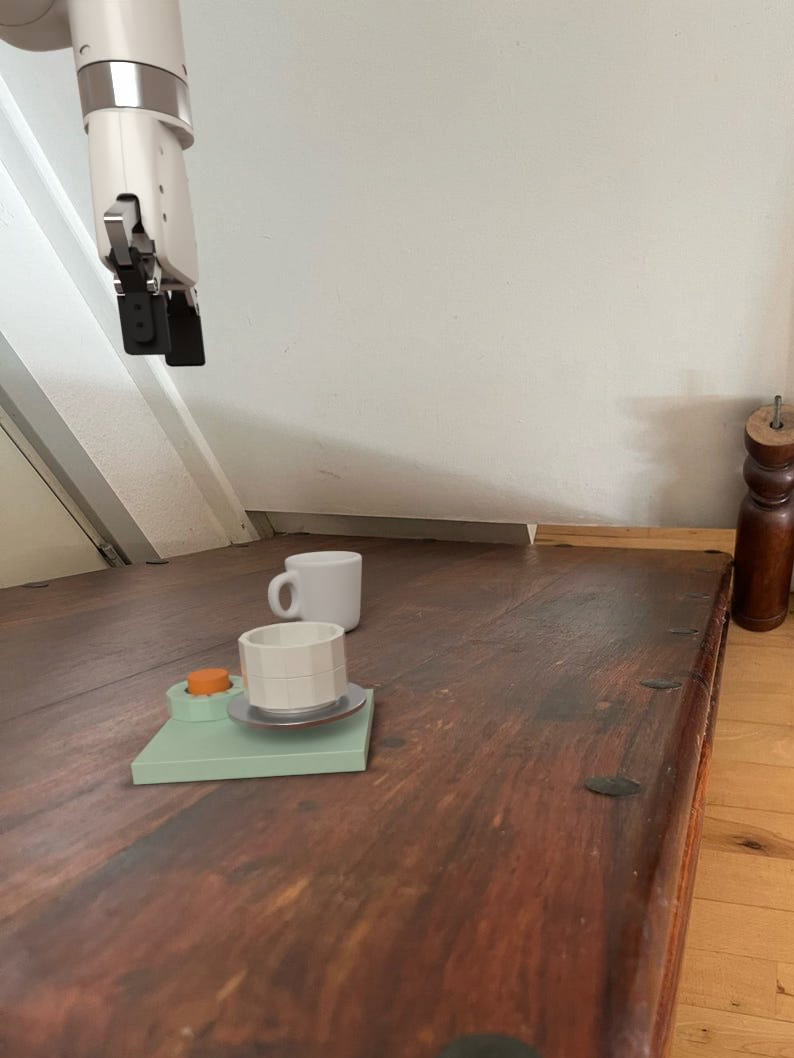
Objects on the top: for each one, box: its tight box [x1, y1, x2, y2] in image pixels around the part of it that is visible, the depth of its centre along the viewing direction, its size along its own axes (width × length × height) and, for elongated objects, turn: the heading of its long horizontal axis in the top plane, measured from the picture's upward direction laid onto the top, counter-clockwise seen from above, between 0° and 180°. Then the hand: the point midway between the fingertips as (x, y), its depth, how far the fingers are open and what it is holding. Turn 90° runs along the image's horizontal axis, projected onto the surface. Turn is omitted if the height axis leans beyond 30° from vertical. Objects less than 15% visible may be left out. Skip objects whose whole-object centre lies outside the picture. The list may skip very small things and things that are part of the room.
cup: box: [267, 550, 363, 633], centre depth 81 cm, size 11×8×8 cm
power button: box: [186, 668, 230, 695], centre depth 55 cm, size 3×3×1 cm
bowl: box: [237, 621, 350, 714], centre depth 50 cm, size 7×7×4 cm
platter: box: [227, 681, 366, 730], centre depth 51 cm, size 9×9×1 cm
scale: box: [130, 674, 375, 786], centre depth 53 cm, size 14×12×3 cm
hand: (168, 360), depth 61 cm, fingers open, 9 cm apart
